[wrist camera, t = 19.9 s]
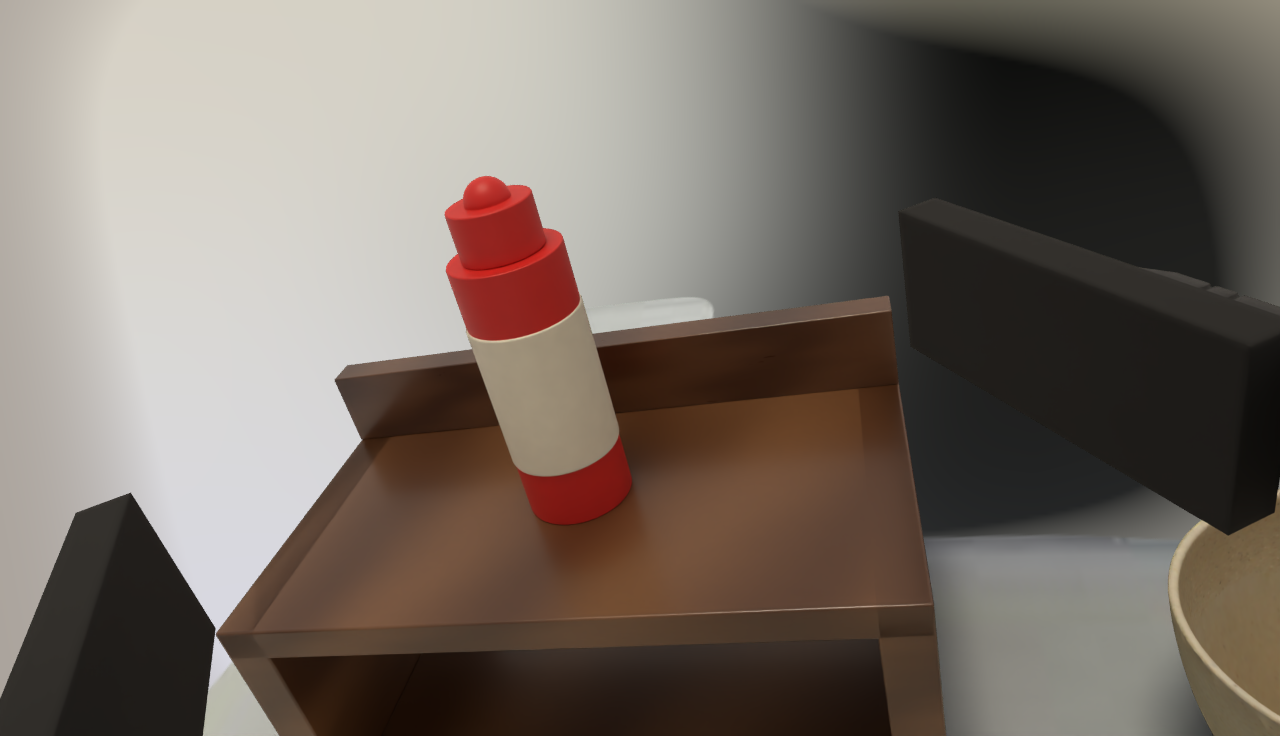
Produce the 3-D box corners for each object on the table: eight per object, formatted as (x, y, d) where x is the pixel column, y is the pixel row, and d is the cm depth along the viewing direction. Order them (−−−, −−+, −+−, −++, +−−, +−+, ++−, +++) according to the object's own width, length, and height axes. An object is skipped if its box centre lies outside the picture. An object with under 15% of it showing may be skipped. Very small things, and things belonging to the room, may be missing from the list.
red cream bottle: (516, 530, 29) (396, 210, 24) (545, 463, 32) (444, 168, 27) (622, 522, 28) (521, 188, 23) (641, 454, 31) (556, 147, 26)
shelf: (324, 809, 32) (169, 563, 27) (441, 577, 42) (347, 365, 37) (954, 821, 27) (925, 513, 21) (915, 551, 37) (888, 295, 31)
